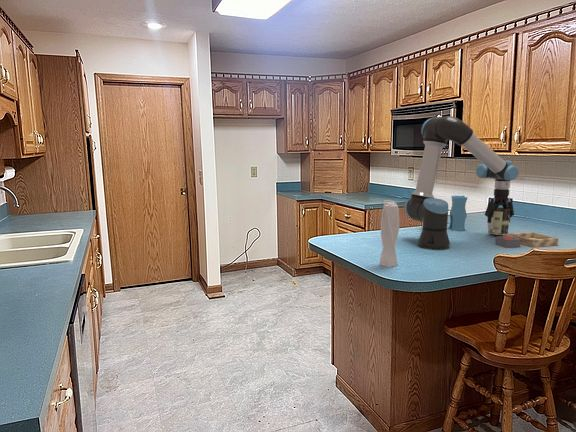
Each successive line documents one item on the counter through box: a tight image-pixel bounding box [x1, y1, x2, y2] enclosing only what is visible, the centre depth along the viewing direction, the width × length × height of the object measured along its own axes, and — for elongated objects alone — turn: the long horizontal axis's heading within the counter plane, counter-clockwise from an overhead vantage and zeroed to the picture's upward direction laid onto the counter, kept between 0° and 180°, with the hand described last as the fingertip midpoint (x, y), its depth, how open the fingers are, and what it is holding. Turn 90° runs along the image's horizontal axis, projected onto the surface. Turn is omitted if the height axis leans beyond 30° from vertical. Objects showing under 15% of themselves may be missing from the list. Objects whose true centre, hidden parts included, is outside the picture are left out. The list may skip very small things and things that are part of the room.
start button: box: [502, 234, 513, 239], centre depth 215 cm, size 4×4×4 cm
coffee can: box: [487, 206, 510, 236], centre depth 239 cm, size 10×10×14 cm
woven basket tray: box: [507, 231, 559, 248], centre depth 222 cm, size 16×16×4 cm
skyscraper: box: [379, 199, 400, 268], centre depth 179 cm, size 8×8×28 cm
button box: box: [494, 235, 522, 249], centre depth 216 cm, size 8×8×4 cm
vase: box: [448, 195, 469, 232], centre depth 255 cm, size 8×8×20 cm
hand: (498, 228), depth 239 cm, fingers closed on coffee can, 10 cm apart
